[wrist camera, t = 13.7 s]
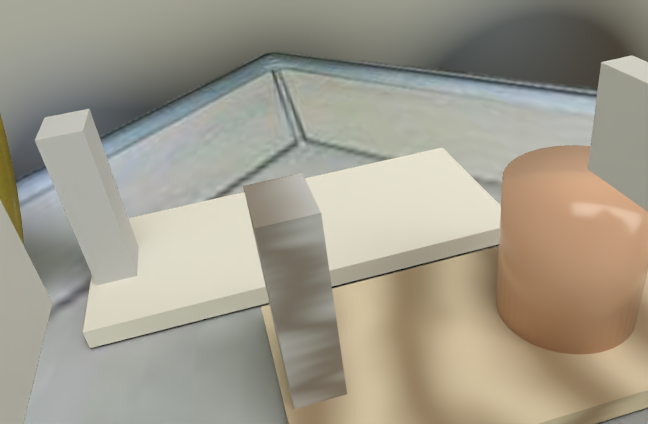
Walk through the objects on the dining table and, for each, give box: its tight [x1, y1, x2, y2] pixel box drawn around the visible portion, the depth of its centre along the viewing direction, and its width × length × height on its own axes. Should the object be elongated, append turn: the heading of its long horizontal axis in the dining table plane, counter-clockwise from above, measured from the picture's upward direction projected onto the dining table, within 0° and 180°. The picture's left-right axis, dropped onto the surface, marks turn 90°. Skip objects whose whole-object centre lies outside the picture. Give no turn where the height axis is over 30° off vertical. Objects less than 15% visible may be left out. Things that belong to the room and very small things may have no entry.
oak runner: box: [243, 173, 648, 424], centre depth 33 cm, size 32×14×14 cm, turn 104°
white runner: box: [35, 109, 501, 348], centre depth 44 cm, size 32×14×14 cm, turn 104°
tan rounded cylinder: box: [496, 146, 648, 354], centre depth 34 cm, size 8×8×9 cm
